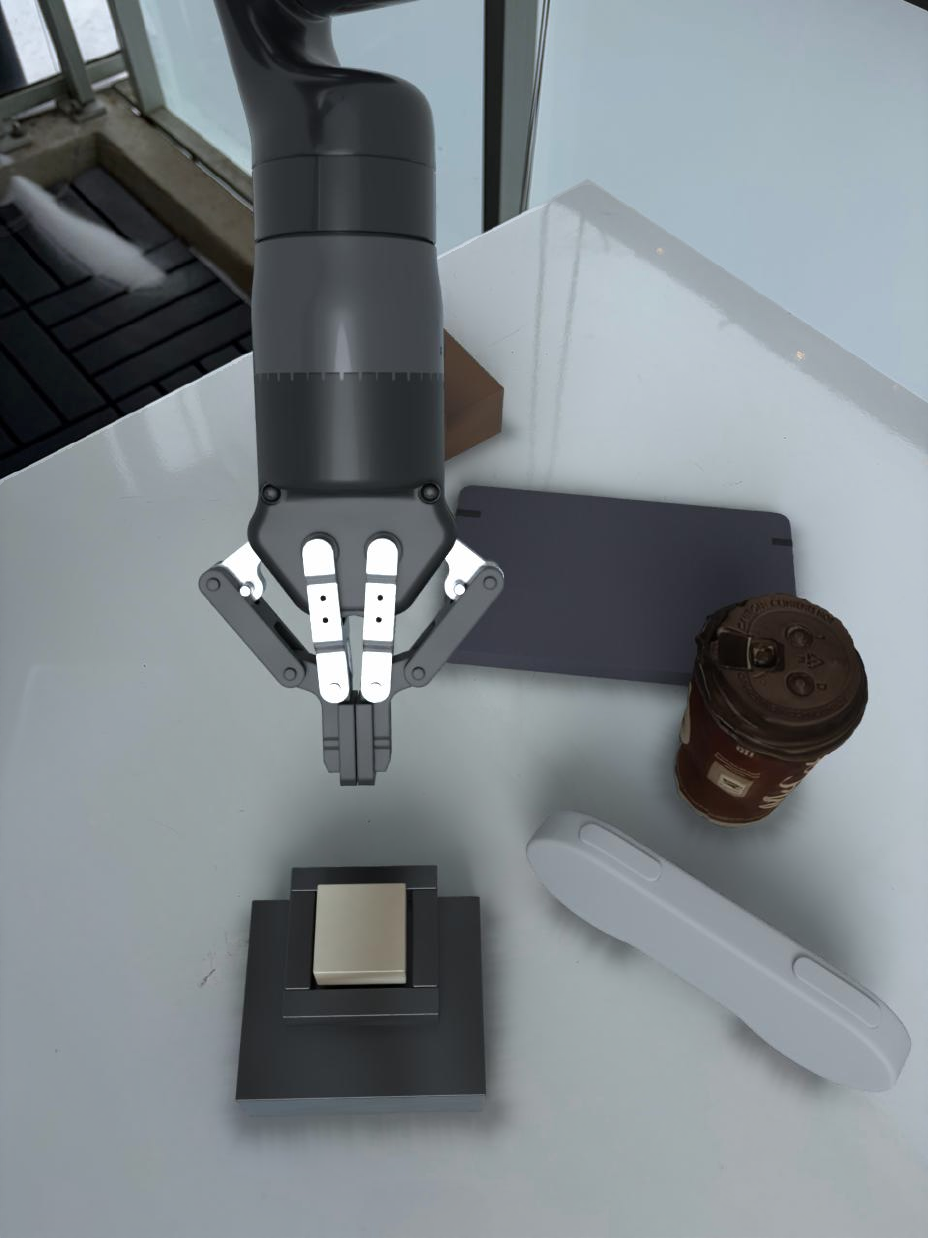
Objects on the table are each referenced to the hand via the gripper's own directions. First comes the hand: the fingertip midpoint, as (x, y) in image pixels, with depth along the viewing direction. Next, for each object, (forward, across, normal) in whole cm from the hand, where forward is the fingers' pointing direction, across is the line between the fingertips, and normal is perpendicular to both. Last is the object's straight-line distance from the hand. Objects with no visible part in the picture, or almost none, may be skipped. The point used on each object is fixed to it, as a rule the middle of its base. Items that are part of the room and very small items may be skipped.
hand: (359, 779), depth 46 cm
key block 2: (-14, 0, +32) cm, 35 cm away
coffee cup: (+5, +20, +13) cm, 24 cm away
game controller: (+13, +16, +6) cm, 21 cm away
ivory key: (+8, 0, +2) cm, 9 cm away
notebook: (-4, +15, +22) cm, 27 cm away
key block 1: (+14, 0, +4) cm, 14 cm away
